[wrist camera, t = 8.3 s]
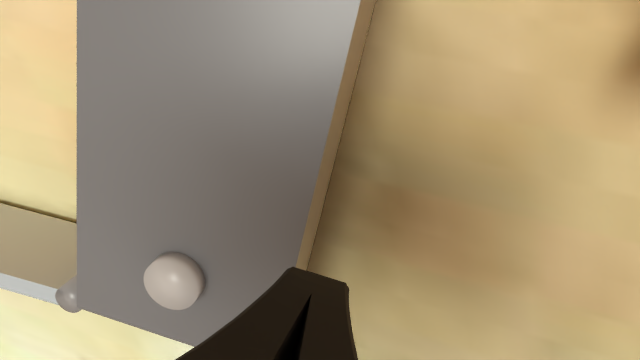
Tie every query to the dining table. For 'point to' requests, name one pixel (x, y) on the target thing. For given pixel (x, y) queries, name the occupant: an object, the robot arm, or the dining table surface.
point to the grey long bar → (38, 256)
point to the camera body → (205, 150)
